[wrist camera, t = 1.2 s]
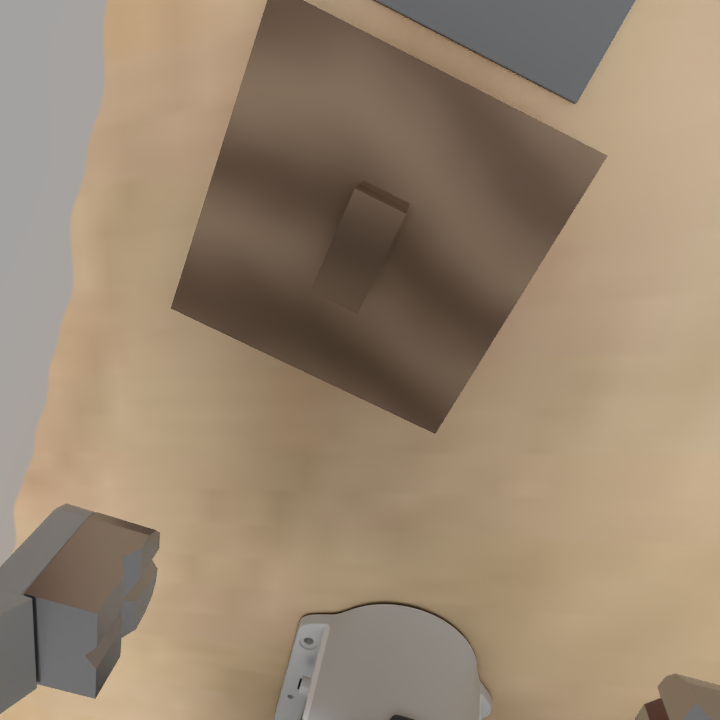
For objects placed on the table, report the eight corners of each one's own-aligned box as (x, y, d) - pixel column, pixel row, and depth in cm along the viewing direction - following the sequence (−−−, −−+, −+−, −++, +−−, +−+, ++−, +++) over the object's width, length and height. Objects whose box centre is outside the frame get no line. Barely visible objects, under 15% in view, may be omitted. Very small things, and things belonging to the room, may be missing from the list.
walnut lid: (435, 424, 32) (434, 464, 28) (178, 302, 31) (143, 327, 27) (601, 154, 25) (628, 160, 21) (278, -11, 24) (249, -33, 20)
